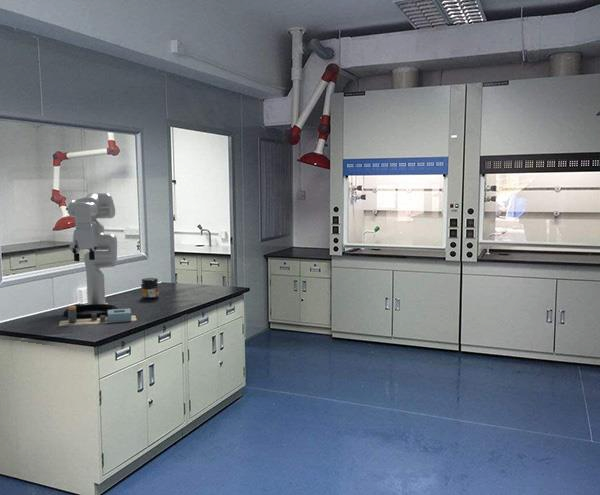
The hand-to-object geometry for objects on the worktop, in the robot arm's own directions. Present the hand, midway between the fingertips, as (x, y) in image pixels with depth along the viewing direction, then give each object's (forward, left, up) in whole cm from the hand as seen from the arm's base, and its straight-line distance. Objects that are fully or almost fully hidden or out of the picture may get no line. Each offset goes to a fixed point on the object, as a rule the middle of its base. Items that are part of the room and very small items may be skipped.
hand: (84, 260), depth 281 cm
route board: (+10, +6, -31) cm, 33 cm away
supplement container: (-46, +36, -31) cm, 66 cm away
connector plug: (+10, -6, -29) cm, 32 cm away
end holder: (+10, +16, -29) cm, 35 cm away
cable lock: (-12, +2, -31) cm, 33 cm away
